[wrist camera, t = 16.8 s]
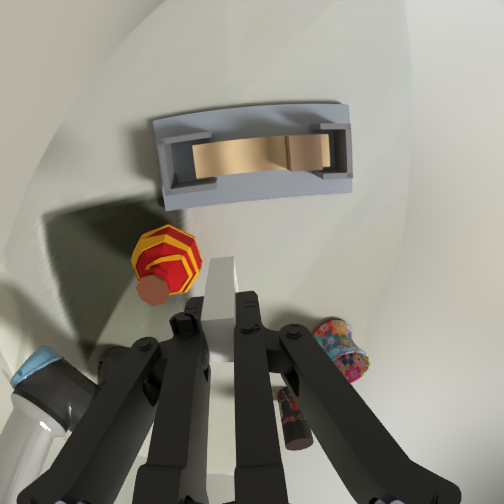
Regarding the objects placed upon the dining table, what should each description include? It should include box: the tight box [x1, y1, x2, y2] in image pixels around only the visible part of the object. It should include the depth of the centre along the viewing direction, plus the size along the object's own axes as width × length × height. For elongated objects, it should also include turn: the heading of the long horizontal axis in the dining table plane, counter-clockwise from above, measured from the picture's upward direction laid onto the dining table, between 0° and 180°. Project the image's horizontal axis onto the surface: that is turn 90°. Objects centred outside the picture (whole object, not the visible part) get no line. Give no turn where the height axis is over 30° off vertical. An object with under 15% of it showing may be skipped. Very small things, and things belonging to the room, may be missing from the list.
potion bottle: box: [131, 224, 203, 305], centre depth 38 cm, size 10×10×15 cm
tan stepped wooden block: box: [192, 134, 330, 179], centre depth 36 cm, size 18×4×7 cm, turn 95°
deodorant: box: [277, 387, 313, 451], centre depth 55 cm, size 6×6×15 cm
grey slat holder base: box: [153, 104, 353, 211], centre depth 37 cm, size 29×14×6 cm, turn 95°
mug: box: [313, 320, 370, 383], centre depth 50 cm, size 12×9×11 cm
